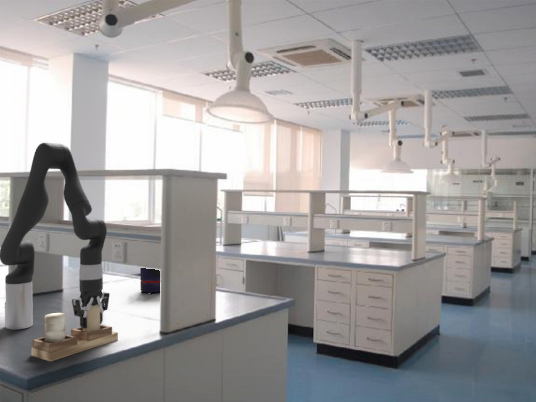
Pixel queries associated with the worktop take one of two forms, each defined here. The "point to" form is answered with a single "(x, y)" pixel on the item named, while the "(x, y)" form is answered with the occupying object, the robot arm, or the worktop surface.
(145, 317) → the worktop surface
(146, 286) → the navy upright block
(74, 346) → the wooden double holder
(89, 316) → the candle
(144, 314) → the worktop surface
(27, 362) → the worktop surface
